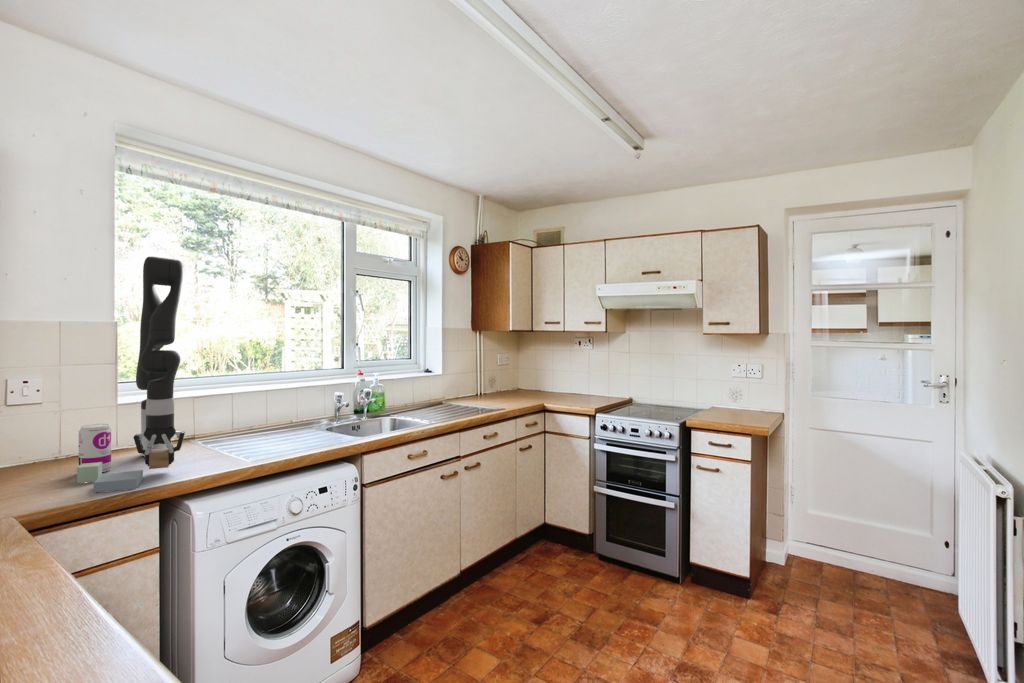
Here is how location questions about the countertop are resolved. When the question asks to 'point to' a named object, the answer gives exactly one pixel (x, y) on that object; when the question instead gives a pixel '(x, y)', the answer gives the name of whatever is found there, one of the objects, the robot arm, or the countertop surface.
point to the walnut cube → (159, 458)
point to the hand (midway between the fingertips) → (159, 464)
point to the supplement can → (95, 445)
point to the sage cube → (89, 472)
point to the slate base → (118, 481)
